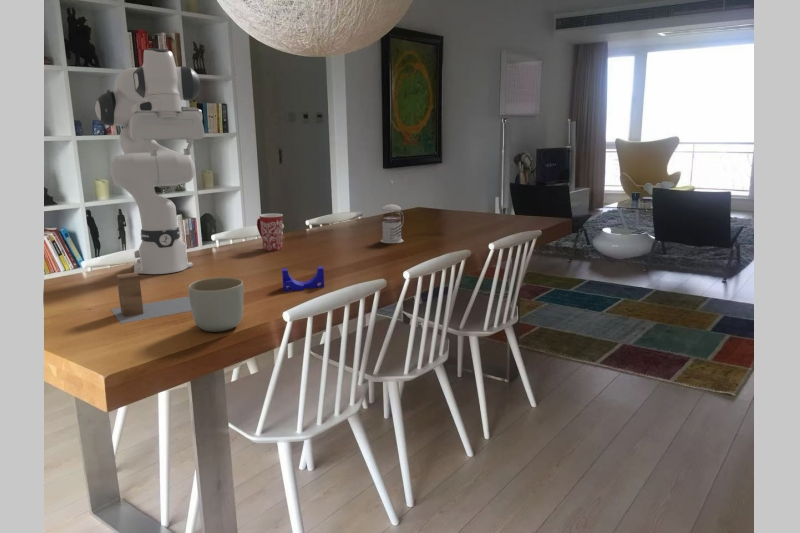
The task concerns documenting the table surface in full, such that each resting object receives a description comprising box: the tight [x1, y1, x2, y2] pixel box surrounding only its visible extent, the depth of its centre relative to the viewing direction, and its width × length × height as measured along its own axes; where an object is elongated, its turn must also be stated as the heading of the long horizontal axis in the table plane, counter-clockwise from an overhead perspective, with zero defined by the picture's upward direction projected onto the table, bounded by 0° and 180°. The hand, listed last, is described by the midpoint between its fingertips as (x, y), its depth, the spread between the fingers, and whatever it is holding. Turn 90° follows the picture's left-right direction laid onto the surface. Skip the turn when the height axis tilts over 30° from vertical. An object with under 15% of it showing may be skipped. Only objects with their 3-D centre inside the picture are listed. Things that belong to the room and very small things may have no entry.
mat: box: [110, 295, 192, 324], centre depth 155 cm, size 14×22×1 cm, turn 125°
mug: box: [256, 212, 284, 252], centre depth 230 cm, size 13×9×14 cm
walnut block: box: [116, 272, 144, 317], centre depth 150 cm, size 4×4×10 cm
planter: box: [187, 276, 244, 333], centre depth 140 cm, size 12×12×11 cm
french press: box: [380, 180, 405, 244], centre depth 243 cm, size 10×12×25 cm
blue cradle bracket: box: [281, 265, 325, 292], centre depth 174 cm, size 12×4×6 cm, turn 103°
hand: (170, 155), depth 171 cm, fingers open, 8 cm apart
